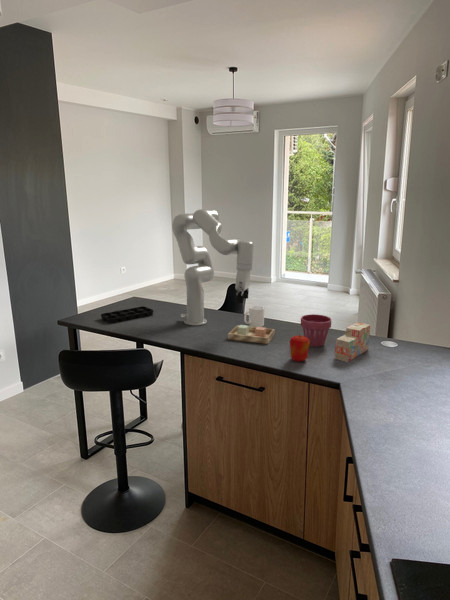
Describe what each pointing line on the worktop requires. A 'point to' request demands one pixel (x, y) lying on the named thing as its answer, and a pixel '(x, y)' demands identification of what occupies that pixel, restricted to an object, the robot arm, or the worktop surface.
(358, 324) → the stack of blocks
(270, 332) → the oak tray
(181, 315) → the robot arm
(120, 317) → the egg carton
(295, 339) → the apple
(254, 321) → the cup
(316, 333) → the plant pot
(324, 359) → the worktop surface
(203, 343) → the worktop surface
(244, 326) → the sage block
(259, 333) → the terracotta block
